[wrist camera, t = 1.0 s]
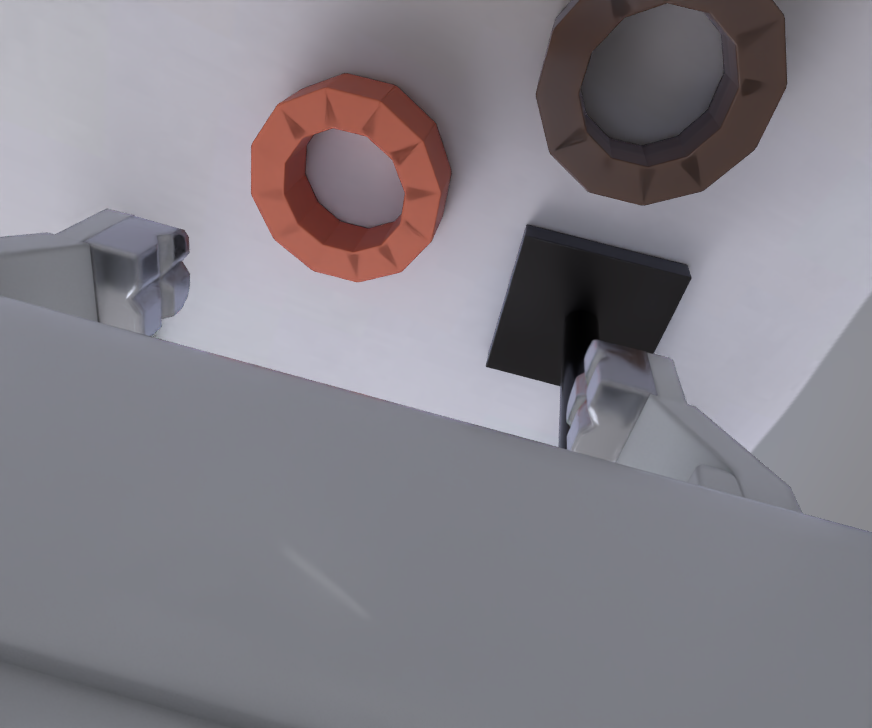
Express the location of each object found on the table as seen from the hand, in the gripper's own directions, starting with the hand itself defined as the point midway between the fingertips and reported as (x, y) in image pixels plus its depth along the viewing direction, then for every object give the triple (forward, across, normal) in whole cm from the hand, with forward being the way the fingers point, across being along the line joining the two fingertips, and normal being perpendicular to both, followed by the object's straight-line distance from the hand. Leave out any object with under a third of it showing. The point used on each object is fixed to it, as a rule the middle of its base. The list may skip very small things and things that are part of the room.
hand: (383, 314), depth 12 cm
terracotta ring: (+23, +6, +5) cm, 24 cm away
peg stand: (+23, -8, +10) cm, 26 cm away
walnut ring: (+22, -7, -3) cm, 23 cm away
